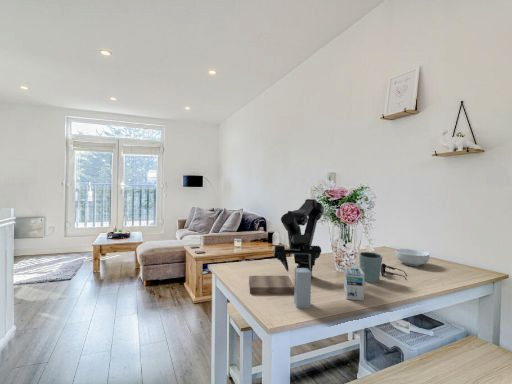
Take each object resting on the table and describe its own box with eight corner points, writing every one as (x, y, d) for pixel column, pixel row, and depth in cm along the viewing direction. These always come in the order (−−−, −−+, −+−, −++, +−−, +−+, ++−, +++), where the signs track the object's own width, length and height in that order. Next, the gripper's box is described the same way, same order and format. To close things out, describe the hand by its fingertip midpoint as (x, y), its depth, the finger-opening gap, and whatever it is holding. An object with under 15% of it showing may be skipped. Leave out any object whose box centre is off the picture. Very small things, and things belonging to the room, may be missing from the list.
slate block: (307, 301, 107) (307, 268, 107) (310, 307, 102) (311, 272, 102) (294, 301, 107) (294, 268, 106) (296, 307, 102) (297, 272, 101)
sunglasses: (380, 270, 147) (382, 261, 146) (406, 278, 141) (408, 268, 140) (378, 276, 137) (380, 266, 137) (405, 284, 132) (407, 274, 131)
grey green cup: (367, 275, 139) (368, 251, 139) (386, 281, 131) (387, 255, 130) (353, 278, 134) (354, 253, 133) (372, 285, 125) (373, 258, 125)
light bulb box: (364, 301, 108) (365, 273, 108) (346, 299, 110) (346, 272, 109) (359, 290, 119) (360, 265, 118) (343, 289, 120) (344, 264, 120)
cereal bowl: (431, 264, 160) (432, 251, 160) (425, 270, 147) (426, 257, 147) (399, 258, 171) (399, 246, 171) (391, 264, 159) (391, 251, 158)
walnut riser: (288, 280, 129) (288, 275, 129) (293, 293, 115) (294, 287, 115) (248, 281, 128) (249, 275, 128) (250, 293, 114) (250, 287, 114)
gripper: (275, 225, 113) (277, 260, 102) (320, 226, 114) (328, 260, 103) (272, 241, 121) (274, 274, 111) (315, 241, 122) (321, 274, 111)
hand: (299, 271), depth 109 cm, fingers open, 9 cm apart
